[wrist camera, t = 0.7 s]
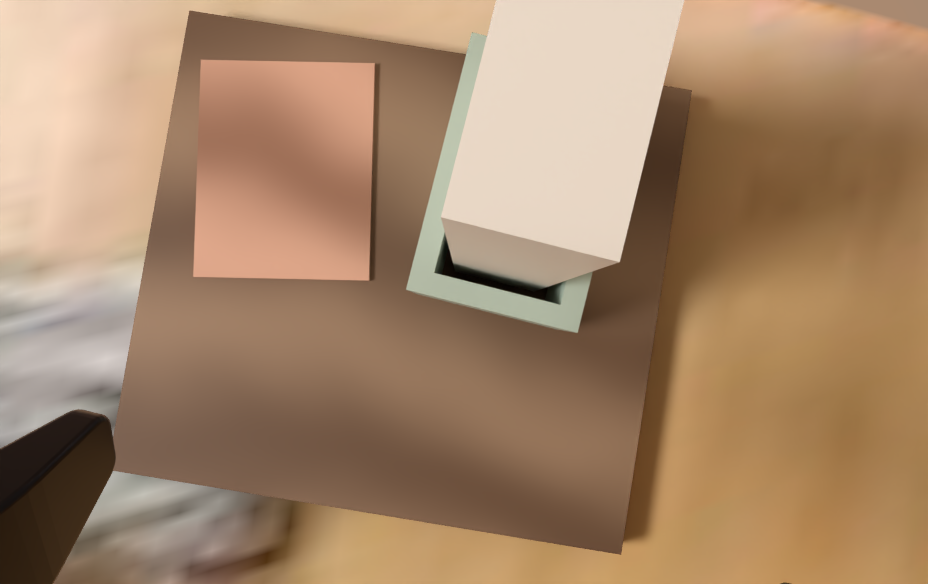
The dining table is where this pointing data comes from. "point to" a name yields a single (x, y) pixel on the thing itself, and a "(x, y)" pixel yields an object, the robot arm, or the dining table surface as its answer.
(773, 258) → the dining table surface
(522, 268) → the tall beige block
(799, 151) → the dining table surface
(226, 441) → the walnut board
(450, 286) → the slot box
